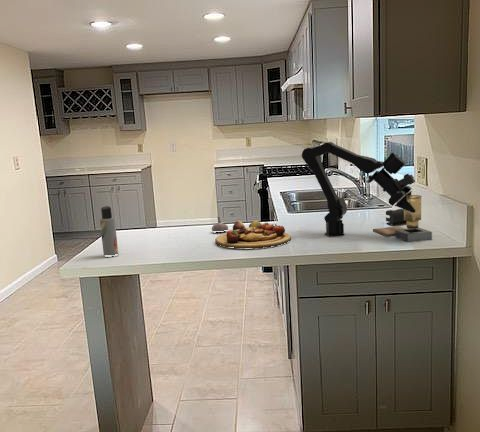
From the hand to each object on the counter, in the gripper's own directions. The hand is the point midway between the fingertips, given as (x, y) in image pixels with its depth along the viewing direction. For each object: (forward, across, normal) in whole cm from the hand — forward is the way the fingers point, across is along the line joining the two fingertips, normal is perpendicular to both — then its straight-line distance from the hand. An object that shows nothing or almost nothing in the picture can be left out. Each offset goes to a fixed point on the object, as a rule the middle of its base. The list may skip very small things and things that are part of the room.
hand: (416, 210), depth 192 cm
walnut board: (0, +9, +16) cm, 18 cm away
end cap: (0, +28, +16) cm, 32 cm away
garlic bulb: (-53, -6, +69) cm, 87 cm away
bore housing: (+7, 0, +9) cm, 11 cm away
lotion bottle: (-68, -55, +85) cm, 122 cm away
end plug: (+4, 0, +6) cm, 7 cm away
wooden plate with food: (-36, -18, +53) cm, 66 cm away
